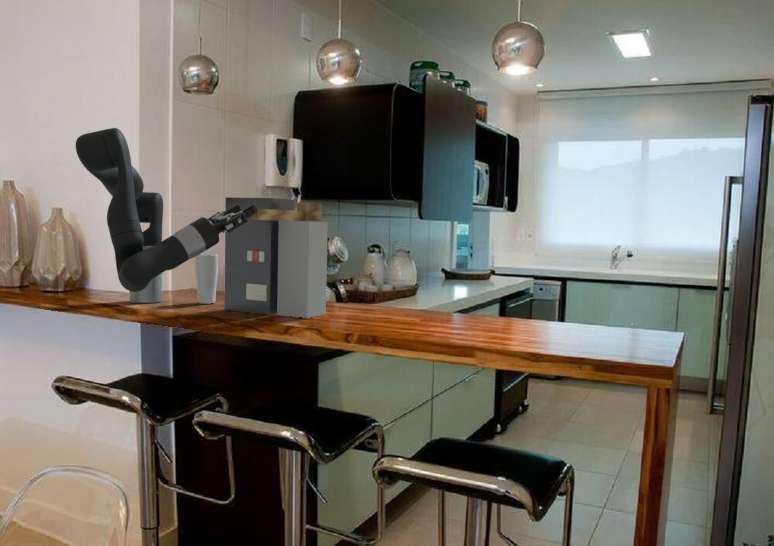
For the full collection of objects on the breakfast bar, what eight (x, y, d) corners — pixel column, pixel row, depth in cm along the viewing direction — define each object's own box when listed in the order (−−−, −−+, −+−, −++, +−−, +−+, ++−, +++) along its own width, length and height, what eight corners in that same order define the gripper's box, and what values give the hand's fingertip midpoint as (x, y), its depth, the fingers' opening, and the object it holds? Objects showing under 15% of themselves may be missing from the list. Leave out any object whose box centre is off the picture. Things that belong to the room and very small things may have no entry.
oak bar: (259, 219, 167) (260, 200, 166) (250, 219, 170) (250, 200, 170) (321, 221, 179) (321, 203, 178) (311, 221, 182) (311, 203, 182)
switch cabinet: (222, 310, 184) (223, 197, 181) (248, 306, 194) (249, 199, 191) (267, 315, 176) (269, 197, 174) (292, 311, 187) (294, 199, 184)
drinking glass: (214, 304, 195) (214, 255, 193) (191, 304, 195) (192, 254, 194) (220, 302, 201) (220, 254, 200) (198, 301, 202) (199, 253, 200)
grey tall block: (277, 315, 178) (278, 220, 176) (296, 311, 186) (298, 220, 184) (307, 318, 173) (309, 221, 171) (325, 314, 181) (327, 221, 179)
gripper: (200, 226, 152) (254, 194, 160) (176, 224, 162) (228, 195, 171) (214, 253, 154) (267, 221, 163) (190, 250, 165) (240, 220, 174)
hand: (247, 208), depth 167 cm, fingers open, 8 cm apart
